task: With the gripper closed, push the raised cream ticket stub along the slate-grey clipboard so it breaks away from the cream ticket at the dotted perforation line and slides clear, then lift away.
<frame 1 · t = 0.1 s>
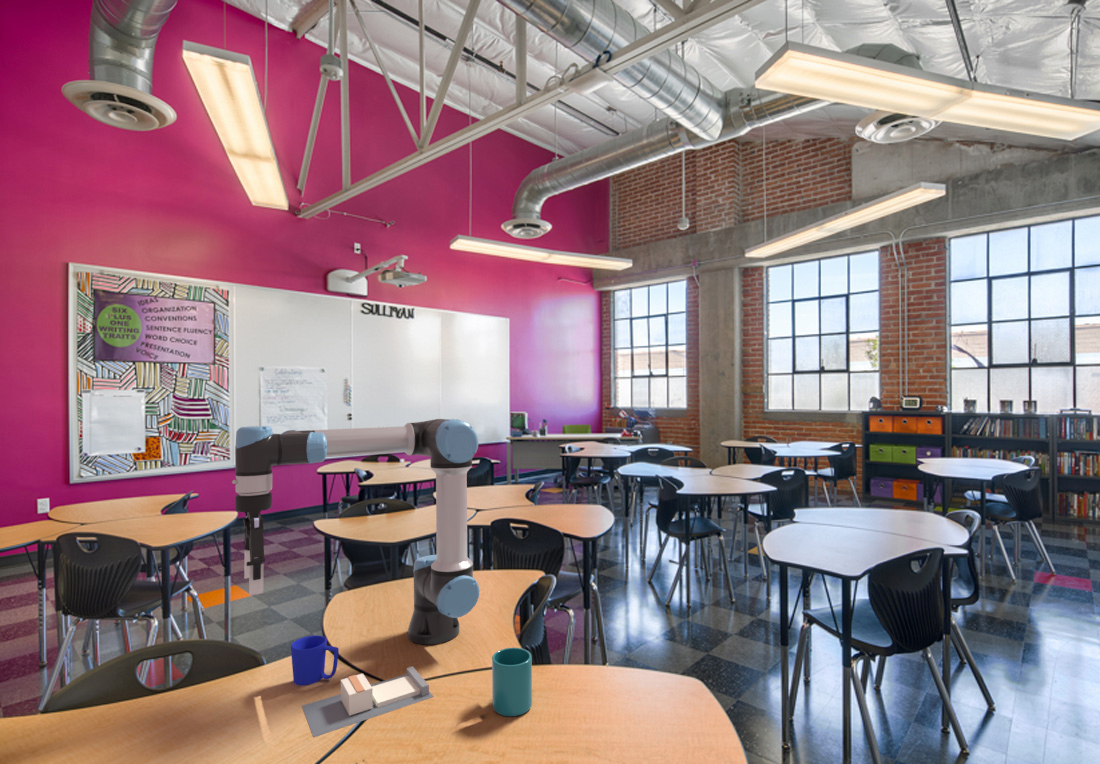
hand: (253, 585, 124), 28 cm above the table, fingers open, 13 cm apart
stub: (356, 693, 122), point 4 cm above the table, slide at 0.0 cm
clipboard: (368, 706, 123), on the table
cup: (513, 703, 124), on the table
mug: (315, 684, 134), on the table
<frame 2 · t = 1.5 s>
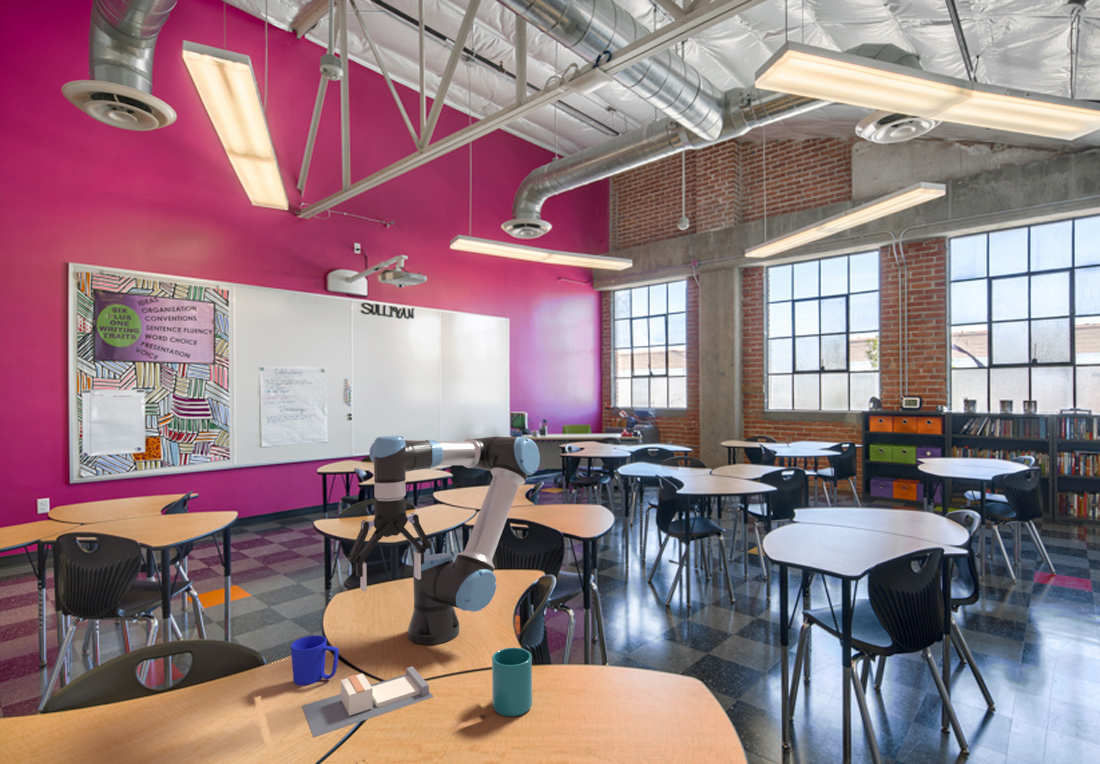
hand: (391, 583, 134), 25 cm above the table, fingers open, 13 cm apart
nothing on the table moved.
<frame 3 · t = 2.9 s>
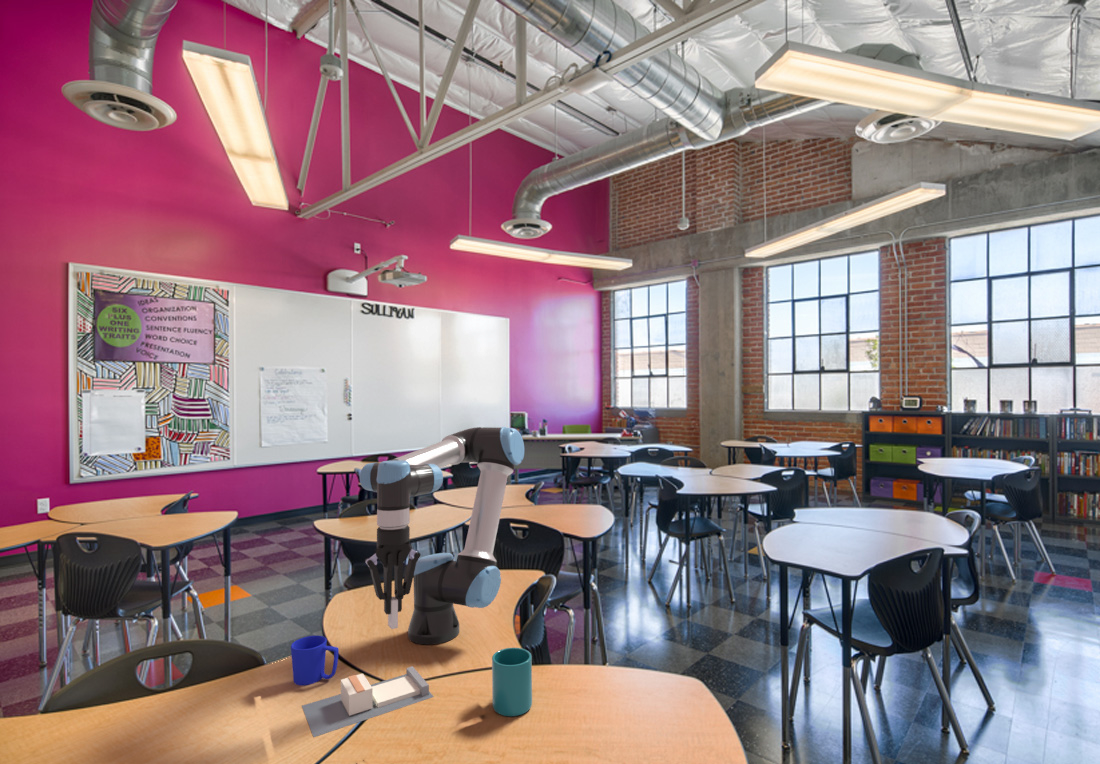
hand: (392, 626, 127), 17 cm above the table, fingers closed
nothing on the table moved.
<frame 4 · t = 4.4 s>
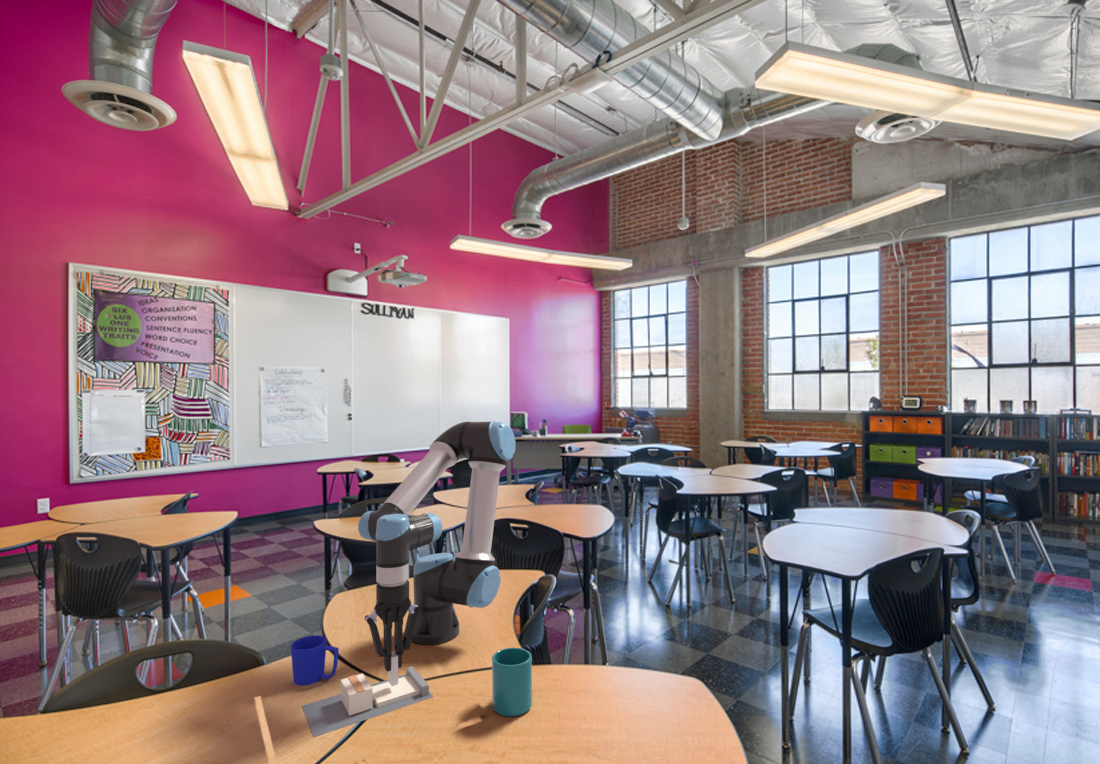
hand: (393, 682, 126), 4 cm above the table, fingers closed
nothing on the table moved.
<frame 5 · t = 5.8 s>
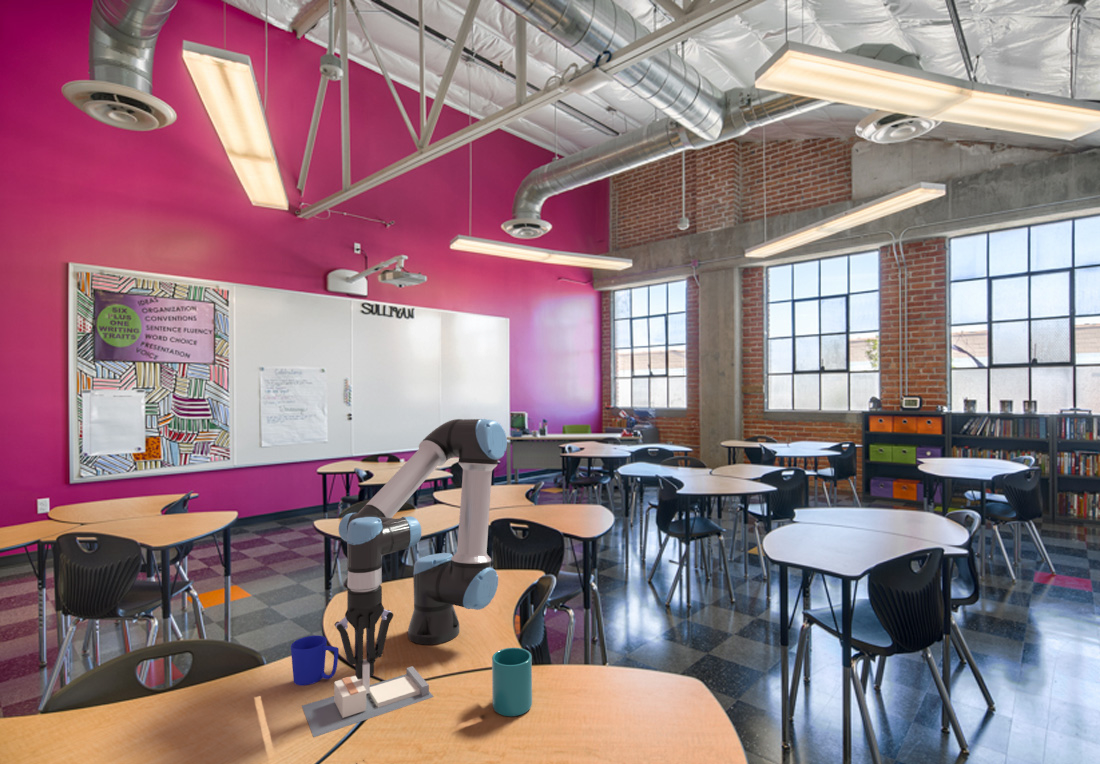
hand: (364, 691, 123), 4 cm above the table, fingers closed
stub: (350, 695, 121), point 4 cm above the table, slide at 1.4 cm, touching gripper
everything else where it was.
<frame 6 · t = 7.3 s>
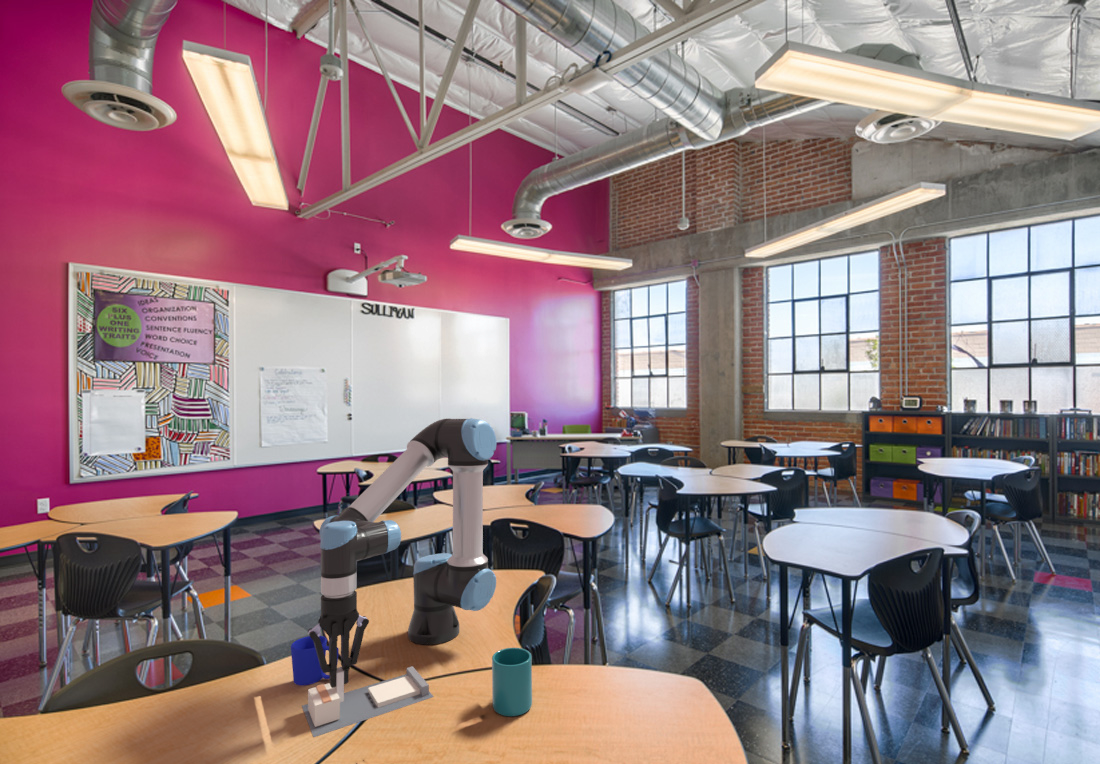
hand: (339, 699, 120), 4 cm above the table, fingers closed
stub: (323, 703, 118), point 4 cm above the table, slide at 7.0 cm, touching gripper
everything else where it was.
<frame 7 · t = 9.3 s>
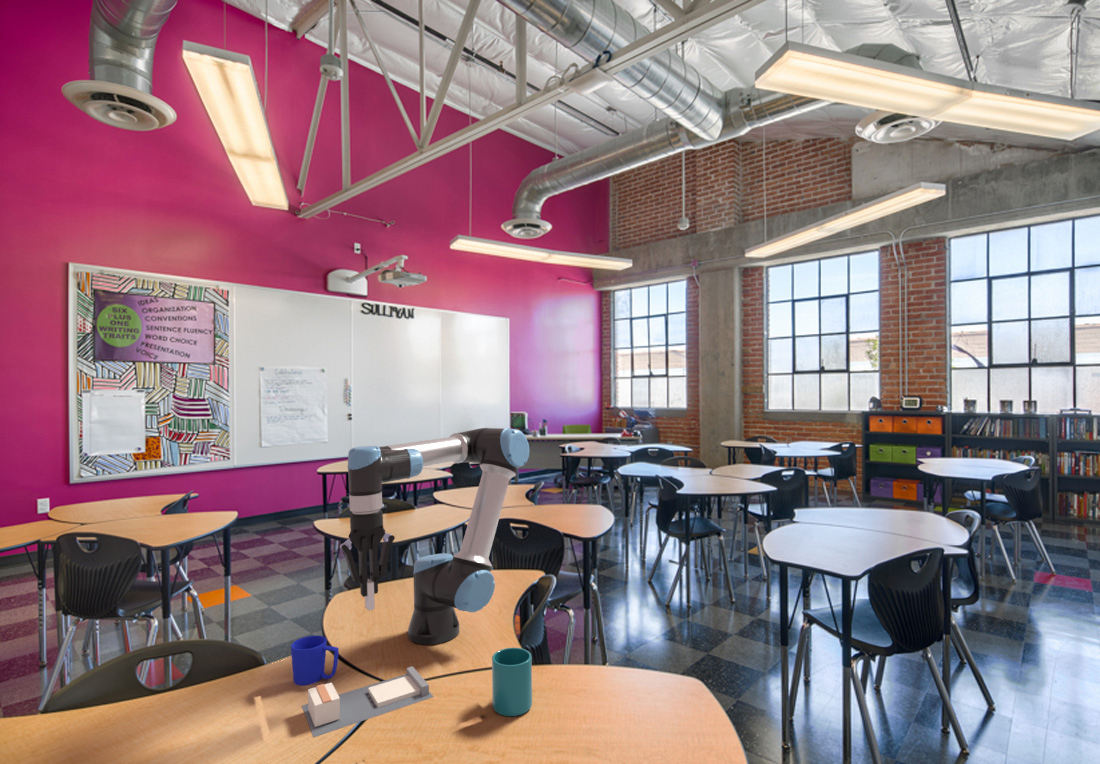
hand: (369, 608, 130), 20 cm above the table, fingers closed
stub: (323, 703, 118), point 4 cm above the table, slide at 7.0 cm
everything else where it was.
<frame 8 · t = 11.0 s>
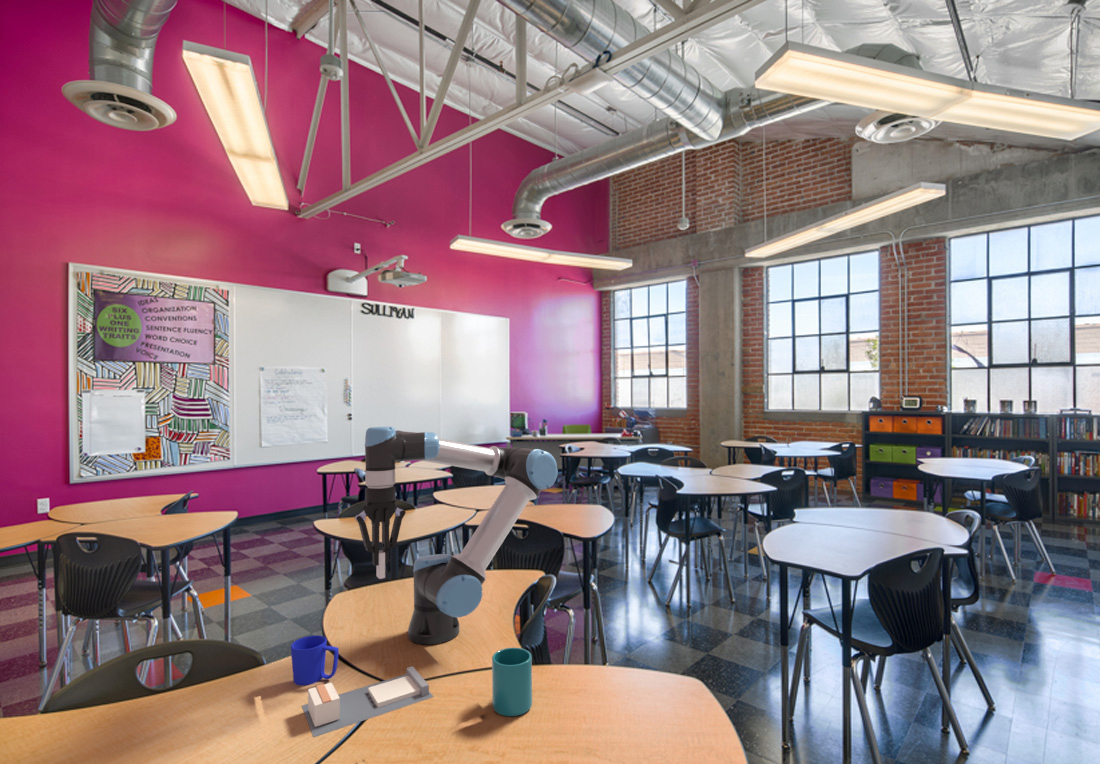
hand: (380, 576, 139), 24 cm above the table, fingers closed
nothing on the table moved.
at the end: stub slide at 7.0 cm; stub touching nothing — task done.
